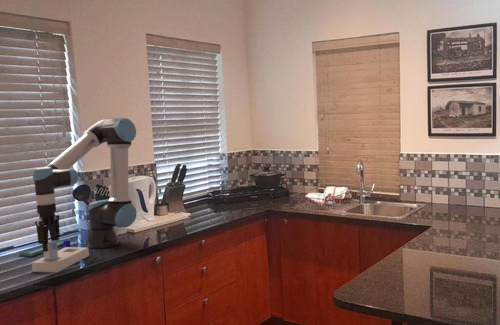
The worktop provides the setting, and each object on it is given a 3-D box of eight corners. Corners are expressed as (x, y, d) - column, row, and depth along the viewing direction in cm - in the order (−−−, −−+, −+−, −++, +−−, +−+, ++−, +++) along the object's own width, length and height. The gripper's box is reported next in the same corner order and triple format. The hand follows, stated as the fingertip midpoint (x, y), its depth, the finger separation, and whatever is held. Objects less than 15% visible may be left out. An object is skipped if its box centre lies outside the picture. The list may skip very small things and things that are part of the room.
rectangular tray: (58, 243, 262) (57, 238, 262) (71, 244, 259) (70, 239, 259) (18, 257, 238) (17, 252, 238) (31, 258, 235) (31, 253, 235)
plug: (51, 266, 214) (48, 240, 212) (60, 267, 212) (58, 240, 211) (45, 269, 210) (42, 242, 209) (54, 269, 209) (52, 242, 207)
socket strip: (66, 257, 231) (65, 247, 231) (89, 258, 228) (88, 247, 228) (32, 273, 208) (31, 262, 207) (57, 274, 205) (56, 263, 204)
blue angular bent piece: (49, 258, 231) (48, 246, 230) (44, 257, 234) (43, 245, 233) (72, 252, 240) (71, 240, 240) (67, 251, 243) (66, 239, 243)
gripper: (51, 200, 218) (55, 251, 220) (24, 207, 201) (30, 262, 203) (65, 199, 216) (70, 251, 218) (40, 207, 199) (45, 263, 201)
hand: (51, 256), depth 211 cm, fingers closed on plug, 4 cm apart
